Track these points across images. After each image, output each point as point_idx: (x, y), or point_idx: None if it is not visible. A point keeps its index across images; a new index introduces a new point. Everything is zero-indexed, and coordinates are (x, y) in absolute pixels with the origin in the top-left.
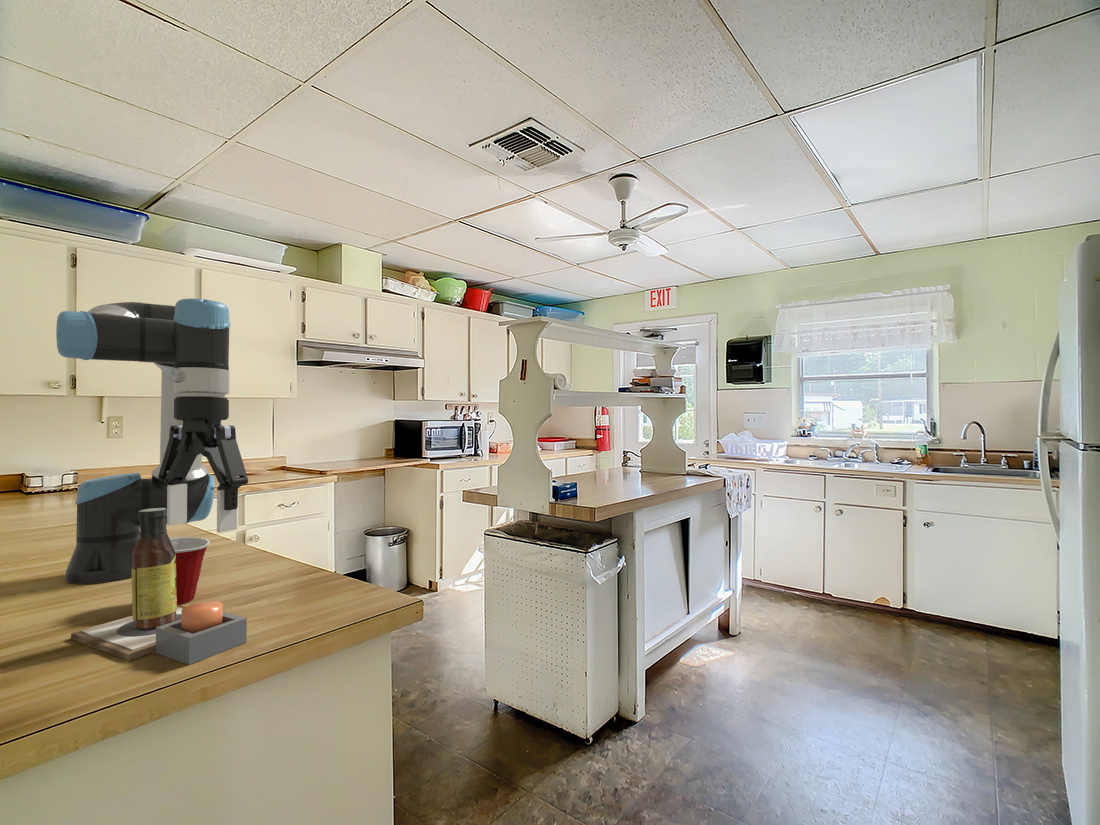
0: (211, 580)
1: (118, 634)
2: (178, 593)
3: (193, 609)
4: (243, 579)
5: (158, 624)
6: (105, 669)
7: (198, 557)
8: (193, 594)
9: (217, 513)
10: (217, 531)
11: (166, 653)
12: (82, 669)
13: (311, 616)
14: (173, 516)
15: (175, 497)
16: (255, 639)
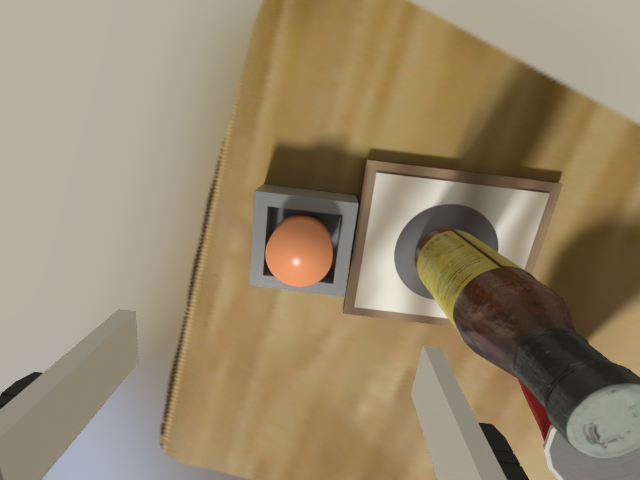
0: None
1: (463, 205)
2: None
3: (302, 241)
4: None
5: (418, 245)
6: (371, 126)
7: (541, 429)
8: None
9: (88, 352)
10: (130, 312)
11: (324, 192)
12: (406, 112)
13: (256, 370)
14: (428, 377)
15: (453, 451)
16: None
